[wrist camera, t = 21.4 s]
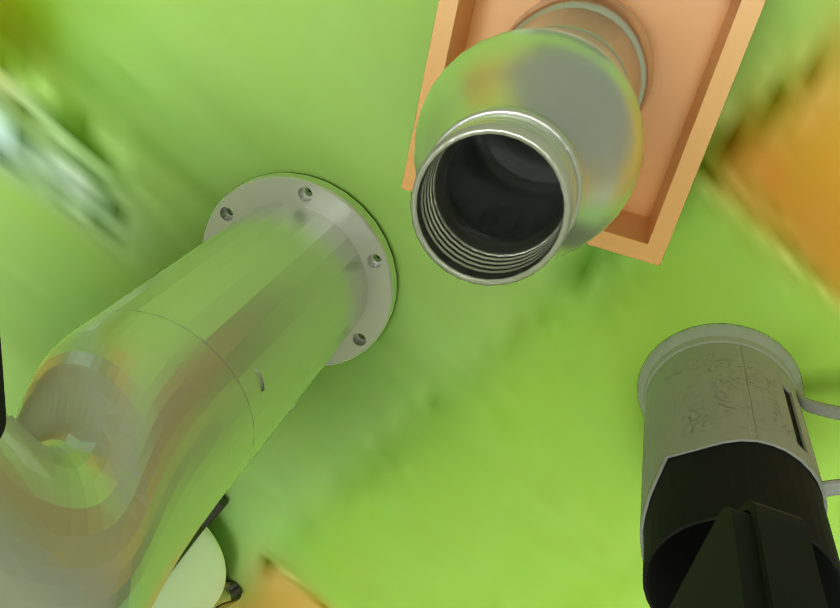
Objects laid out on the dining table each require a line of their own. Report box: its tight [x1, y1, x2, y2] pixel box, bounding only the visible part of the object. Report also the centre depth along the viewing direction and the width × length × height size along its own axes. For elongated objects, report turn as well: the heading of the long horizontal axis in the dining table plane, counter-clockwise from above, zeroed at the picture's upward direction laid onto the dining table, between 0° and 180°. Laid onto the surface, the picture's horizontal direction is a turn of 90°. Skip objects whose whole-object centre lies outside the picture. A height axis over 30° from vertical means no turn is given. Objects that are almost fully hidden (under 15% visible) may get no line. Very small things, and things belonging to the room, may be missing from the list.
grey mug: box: [637, 324, 840, 608], centre depth 35 cm, size 9×14×15 cm, turn 114°
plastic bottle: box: [410, 0, 654, 285], centre depth 25 cm, size 6×7×20 cm
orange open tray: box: [401, 0, 766, 266], centre depth 34 cm, size 12×12×6 cm
